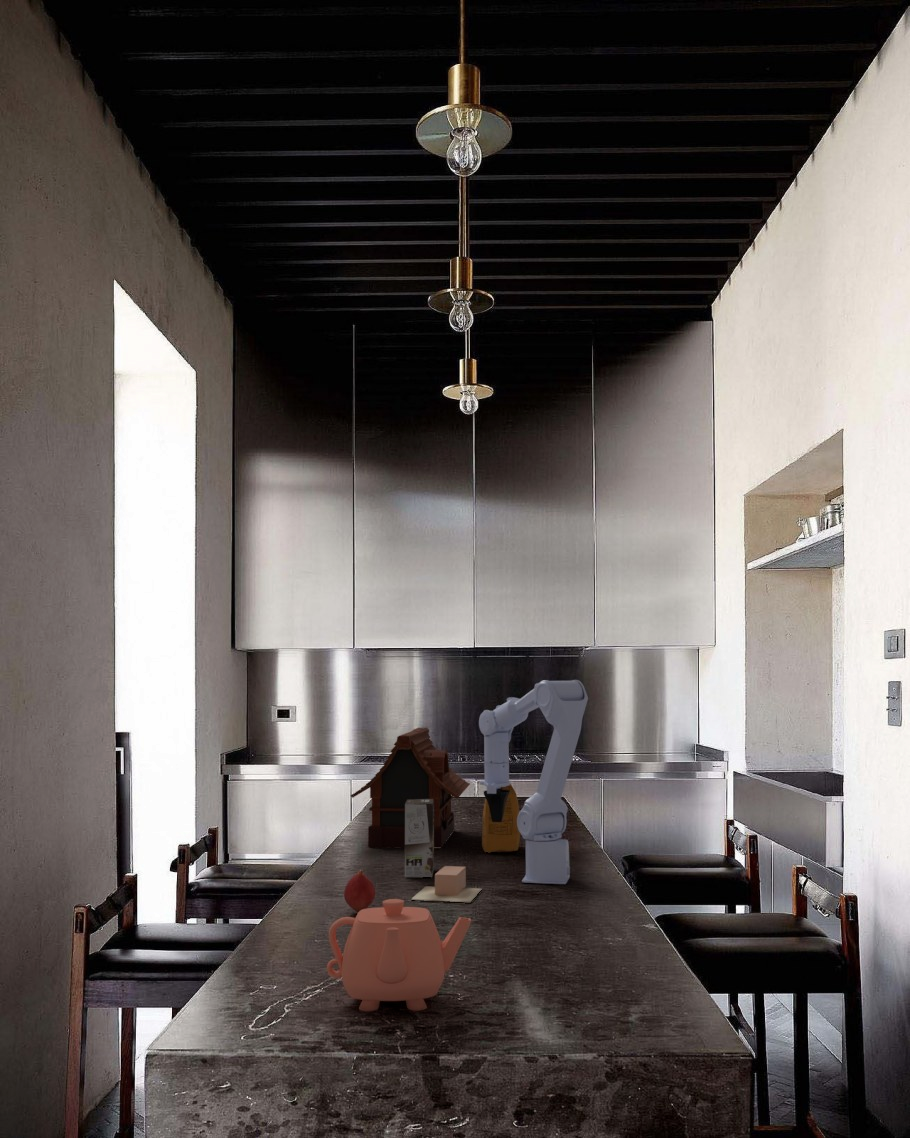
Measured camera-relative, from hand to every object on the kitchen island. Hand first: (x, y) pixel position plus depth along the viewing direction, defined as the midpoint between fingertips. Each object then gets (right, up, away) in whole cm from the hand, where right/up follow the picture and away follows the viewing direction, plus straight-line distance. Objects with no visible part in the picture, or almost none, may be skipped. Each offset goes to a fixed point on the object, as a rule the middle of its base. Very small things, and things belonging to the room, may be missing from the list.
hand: (497, 821), depth 235 cm
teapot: (-18, -1, -95) cm, 97 cm away
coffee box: (-18, -10, -7) cm, 22 cm away
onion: (-28, -7, -44) cm, 52 cm away
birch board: (-11, -8, -30) cm, 33 cm away
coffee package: (+2, -13, +22) cm, 26 cm away
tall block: (-10, -6, -22) cm, 25 cm away
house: (-21, -15, +40) cm, 48 cm away
